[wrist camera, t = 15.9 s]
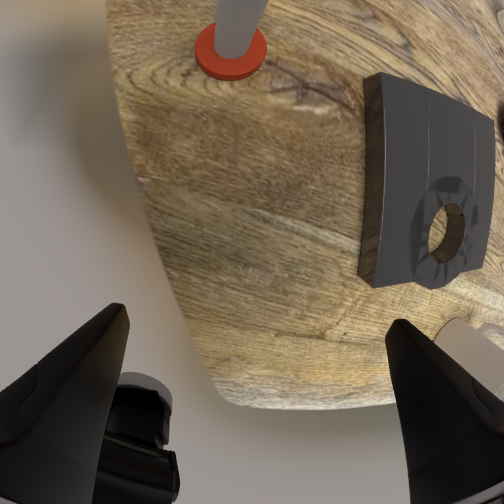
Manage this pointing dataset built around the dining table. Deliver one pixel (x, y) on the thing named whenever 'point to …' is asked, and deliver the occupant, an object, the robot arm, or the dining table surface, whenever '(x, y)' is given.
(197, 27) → the dining table surface
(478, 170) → the sink board
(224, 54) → the stopper
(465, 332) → the mug
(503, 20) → the cup
